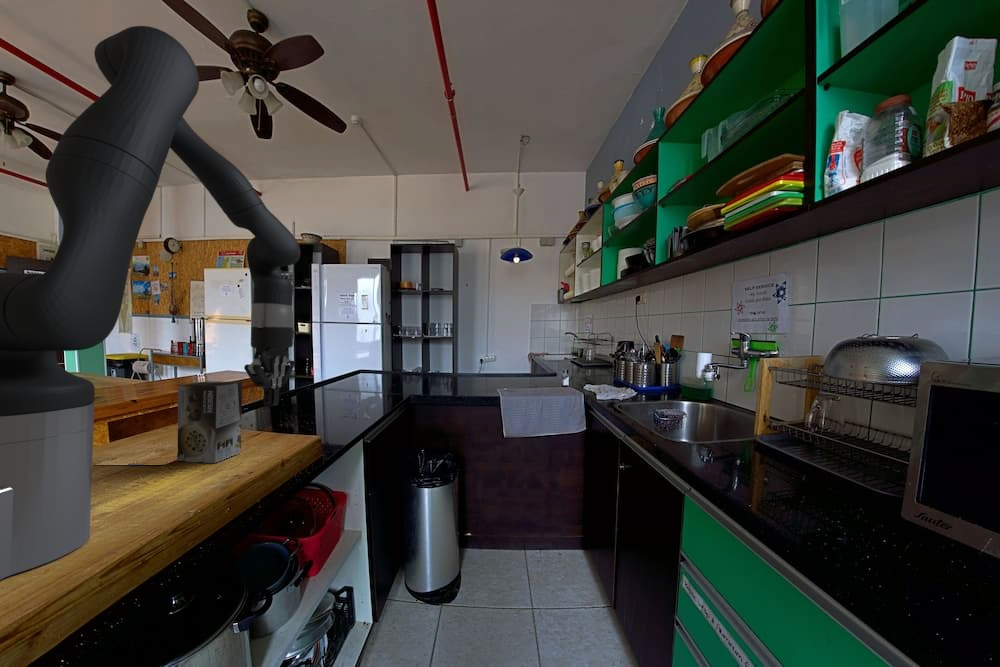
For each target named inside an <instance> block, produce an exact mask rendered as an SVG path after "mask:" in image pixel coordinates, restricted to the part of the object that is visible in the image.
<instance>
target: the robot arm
mask: <svg viewBox="0 0 1000 667" xmlns="http://www.w3.org/2000/svg"><path fill="white" fill-rule="evenodd" d="M94 59H95V62H96V64H97V67H98V69H99V71H100V72H101V73H102V75H103V76H104V78H105V79H106V81H107V82H108V83H109V84H110V87H109V88H107V90H106V91H105V92H104V93H102V94H101V95H100V96H99V97H98V98H96V100H95V101H94V102H93V103H91V104H90V105H88V107H87V108H86V109H85V110H84V111H83V112H82V113H81V114H80V115H79V116H77V117H76V119H75V120H74V121H72V123H71V124H70V125H69V126H68V127H66V130H65V131H64V132H63V134H62V136H61V137H60V138H59V141H58V142H57V145H56V146H55V148H54V150H53V153H52V155H51V156H50V157H49V160H48V162H47V166H46V169H45V181H46V186H47V189H48V191H49V194H50V197H51V199H52V200H53V203H54V206H55V207H56V210H57V213H58V214H59V216H60V218H61V221H62V227H63V228H62V235H61V236H62V237H61V240H60V244H59V246H58V248H57V251H56V254H55V255H54V258H53V260H52V261H51V263H50V264H49V266H48V267H47V269H46V270H45V272H43V273H34V272H33V273H32V272H31V273H28V272H25V273H24V272H0V580H3V579H5V578H6V577H7V578H8V577H10V576H13V575H15V574H18V573H21V572H26V571H29V570H30V569H34V568H36V567H39V566H43V565H44V564H47V563H50V562H53V561H55V560H58V559H60V558H62V557H64V556H65V555H67V554H69V553H72V552H73V551H75V550H77V549H78V548H81V546H83V545H84V544H86V543H87V542H88V541H89V539H90V536H91V535H90V534H91V515H92V514H91V513H92V512H91V509H92V506H91V505H92V482H93V481H92V480H93V477H92V476H93V475H92V474H93V454H94V453H93V452H94V451H93V450H94V449H93V448H94V447H93V446H94V424H95V420H94V419H95V400H96V398H95V392H96V391H95V390H96V389H95V385H94V383H93V382H92V381H91V380H90V379H86V378H83V377H80V376H78V375H75V374H73V373H71V372H70V371H67V370H66V369H65V368H63V367H62V365H60V364H59V362H58V358H57V352H72V351H73V352H75V351H83V350H89V349H91V348H93V347H94V348H95V347H96V346H98V345H100V344H102V343H103V341H105V340H106V339H107V338H108V337H109V336H110V334H111V333H112V331H113V330H114V328H115V326H116V325H117V322H118V320H119V317H120V313H121V309H122V304H123V300H124V295H125V291H126V284H127V279H128V274H129V269H130V265H131V260H132V256H133V253H134V249H135V246H136V243H137V240H138V236H139V235H140V230H141V227H142V224H143V222H144V219H145V215H146V213H147V212H148V209H149V207H150V205H151V203H152V199H153V197H154V195H155V192H156V190H157V187H158V184H159V181H160V178H161V174H162V170H163V168H164V164H165V162H166V159H167V157H168V154H169V151H170V149H171V150H172V152H173V153H174V154H175V155H176V156H177V157H179V159H180V160H181V161H182V162H183V164H185V165H186V167H188V169H189V170H190V171H191V172H192V173H193V174H194V176H196V178H197V179H198V181H200V182H201V184H202V185H203V186H204V187H205V189H206V190H207V191H208V193H209V194H210V196H211V197H212V198H213V200H214V201H215V202H216V204H217V205H218V206H219V208H220V209H221V210H222V212H223V214H225V215H226V217H227V218H228V220H229V221H230V222H231V223H232V224H233V225H234V226H235V227H236V228H240V229H243V230H244V229H245V230H248V231H249V232H250V233H251V234H252V235H253V236H254V237H252V238H251V239H250V240H249V242H248V243H247V247H246V260H247V264H248V269H249V273H250V277H251V280H252V282H253V290H252V292H253V294H252V295H253V296H252V298H253V299H252V300H253V303H252V309H251V317H250V318H251V319H250V322H251V323H250V346H251V348H255V351H254V352H255V353H254V355H253V359H254V360H253V361H252V362H251V363H250V364H249V363H247V364H245V365H244V370H245V372H246V374H247V375H248V377H249V378H250V380H251V382H252V383H253V385H254V386H255V388H261V389H262V390H263V406H264V407H274V406H278V405H279V402H280V388H282V385H283V384H284V385H285V384H287V382H288V380H289V377H291V375H292V374H291V373H292V372H293V370H294V368H295V365H296V361H295V360H291V359H289V356H290V355H289V351H288V348H292V347H293V346H294V310H293V293H294V292H293V284H292V282H291V281H290V280H288V279H287V278H285V277H283V275H282V271H281V270H282V269H281V267H287V266H293V265H295V264H297V263H298V261H299V260H300V258H301V248H300V245H299V243H298V240H297V239H296V237H295V236H294V235H293V233H292V232H291V231H290V230H289V229H288V228H287V227H286V225H284V224H283V223H282V222H281V220H279V219H278V217H276V216H275V215H274V214H273V213H272V212H271V211H270V210H269V209H268V208H267V206H266V205H265V203H264V202H263V200H262V198H261V197H260V196H259V194H258V192H257V191H256V189H255V188H254V186H253V185H252V183H251V182H250V181H249V179H248V177H246V175H245V174H244V173H243V172H242V171H241V170H240V169H239V168H238V167H237V166H236V165H235V164H233V163H232V162H231V161H230V160H229V159H227V157H224V156H223V155H222V154H221V153H219V152H218V151H217V150H216V149H214V148H213V147H212V146H211V145H210V144H209V143H207V142H206V141H205V140H203V139H202V138H201V136H199V135H198V133H196V131H194V130H193V128H192V127H191V125H189V123H188V122H187V120H186V119H185V118H184V117H183V116H184V114H185V113H186V112H187V110H188V108H189V106H190V105H191V104H192V102H193V100H194V99H195V97H196V96H197V94H198V91H199V88H200V78H199V74H198V73H199V72H198V69H197V66H196V63H195V62H194V60H193V58H192V56H191V55H190V52H188V50H187V49H186V48H185V47H184V46H183V44H182V43H181V42H179V41H178V40H177V38H175V37H174V36H172V35H170V34H169V33H167V32H165V31H164V30H161V29H159V28H157V27H153V26H150V25H149V26H148V25H136V26H129V27H126V28H125V29H123V30H121V31H118V32H116V33H115V34H113V35H111V36H108V37H107V38H104V39H102V40H100V41H99V43H97V44H96V46H95V47H94Z"/></svg>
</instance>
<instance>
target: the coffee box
mask: <svg viewBox="0 0 1000 667" xmlns="http://www.w3.org/2000/svg"><path fill="white" fill-rule="evenodd" d="M177 386H178V388H177V391H178V392H177V395H178V396H177V403H178V404H177V448H178V452H177V461H188V462H187V463H198V462H203V464H204V463H205V464H216V462H217V463H220V462H222V461H225V460H227V459H226V458H228V459H230V458H232V457H231V456H233V457H235V456H234V455H236V454H239V453H240V454H241V453H242V420H243V419H242V416H243V415H242V414H243V413H242V410H243V409H242V408H243V404H242V403H243V381H223V380H222V381H217V380H216V381H215V380H214V381H210V380H209V381H207V380H206V381H200V382H199V381H198V382H192V383H188V384H179V385H177ZM240 454H239V455H240ZM236 456H237V455H236ZM229 457H230V458H229ZM224 459H225V460H224ZM221 460H222V461H221ZM177 461H176V462H177ZM219 461H220V462H219Z"/></svg>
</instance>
